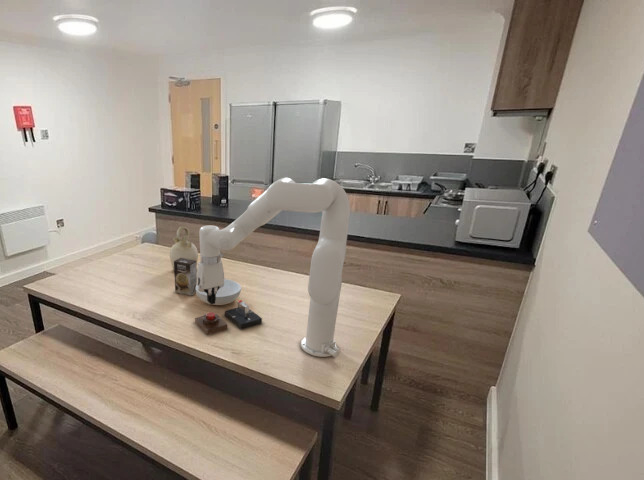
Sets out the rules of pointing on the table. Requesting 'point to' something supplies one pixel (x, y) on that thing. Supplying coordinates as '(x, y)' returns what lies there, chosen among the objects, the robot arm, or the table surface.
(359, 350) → the table surface
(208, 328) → the control block
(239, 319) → the tap console
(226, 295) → the serving bowl
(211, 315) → the button
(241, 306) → the rotary selector knob
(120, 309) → the table surface
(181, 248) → the jug
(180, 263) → the coffee box
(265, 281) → the table surface
